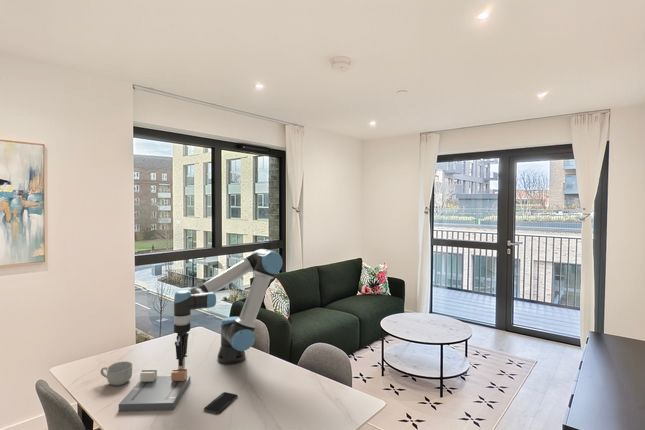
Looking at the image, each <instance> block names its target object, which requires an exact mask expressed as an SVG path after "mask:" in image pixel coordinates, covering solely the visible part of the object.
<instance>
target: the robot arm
mask: <svg viewBox="0 0 645 430" xmlns="http://www.w3.org/2000/svg"><path fill="white" fill-rule="evenodd" d="M283 264H284V263H283V258H282V256H281V254H280V253H278V251H277V252H276V251H274V250H271V249H266V248H260V249H256V250H254V251H252V252H250V254H247V255H246V256H244V257H243V258H242V260H241V261H239V262H238V263H235V264H234V265H232V266H231V267H229V268H227V269H225V270H223V271H222V272H221V273H219V274H217V275H215V276H214V277H212V278H211V279H208V280H207V281H205V282H204V283H202V284H200V285H198V286H193V287H191V288H190V289H189V290H186V289H185V290H183V289H182V290H181V289H180V290H178V291H175V293H174V299H173V317H172V318H173V323H174V324H173V332H174V333H175V334H177V335H176V341H175V342H174V346H175V357H176V358H175V359H176V360H177V361H178V362H177V363H178V364H177V369H183V368H186V358H187V357H188V355H187V352H188V340H189V332H190V331H191V320H192V319H191V317H192V315H191V314H192V313H191V312H192V311H194V310H202V309H211V308H214V307H215V306H216V305H217V295H216V293H217V292H219V291H220V290H222V289H223V288H225V287H227V286H228V285H230V284H232V283H234V281H237V280H239V279H240V278H242V277H243V276H245V275H246V274H248V273H253V272H254V277H253V280H252V283H251V285H250V288H249V291H248V293H247V295H246V299H245V302H244V304H243V307H242V308H241V311H240V314H239V316H229V317H225V318H222V319H221V320H220V321H221V322H220V348H219V350H218V353H217V362H218V363H220V364H223V365H235V364H238V363H239V364H240V363H241V362H243V361H244V360H245V359H246V351H247V350H250V348H252V346H253V345H254V344H255V340H256V336H255V330H256V327H257V326H256V323H255V322H256V320H257V316H258V314H259V312H260V308H261V306H262V303H263V300H264V298H265V295H266V292H267V290H268V288H269V284H270V282H271V280H272V279H274V278H275V277H276V273H278V272H280V271H281V270H282V267H283Z"/></svg>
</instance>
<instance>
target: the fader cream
mask: <svg viewBox="0 0 645 430" xmlns="http://www.w3.org/2000/svg"><path fill="white" fill-rule="evenodd" d="M139 374H140V376H139V378H140V379H139V381H140V382H146V381H154V380H155V379H156V378H157V376H158V369H157V368H149V369H148V368H144V369H142V370H141V372H140V373H139Z"/></svg>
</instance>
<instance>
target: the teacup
mask: <svg viewBox="0 0 645 430" xmlns="http://www.w3.org/2000/svg"><path fill="white" fill-rule="evenodd" d="M104 370H105V371H106V373H105V371H104ZM100 375H101V376H102V377H104V378H106V380H107V383H109V384H110V385H113V386H116V387H118V386H122V385H124V384H126V383H127V382H128V381H130V380H131V378H132V376H133V363H132V362H131V361H127V360H126V361H118V362H115V363H113V364H110V365H109V366H103V367H102V368H101V369H100Z"/></svg>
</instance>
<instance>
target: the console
mask: <svg viewBox="0 0 645 430" xmlns="http://www.w3.org/2000/svg"><path fill="white" fill-rule="evenodd" d="M190 383H191V375H187V378H186V379H185V381H171V375H164V376H163V375H161V376H160V375H157V378H156V379H155V380H154V381H146V382H140V380H139V381H138V382H137V383H136V384H135V386H133V387H132V389H131V390H130V391H129V392H128V393H127V394H126V395H125V397H124V398H123V399H121V401H120V402H119V403H118V412H137V411H138V412H141V411H142V412H143V411H146V412H147V411H173V410H174V409H175V408H176V406H177V405H178V403H179V401H180V399H181V398H182V396H183V394H184V393H185V391H186V390H187V388H188V387H189V385H190Z"/></svg>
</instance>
